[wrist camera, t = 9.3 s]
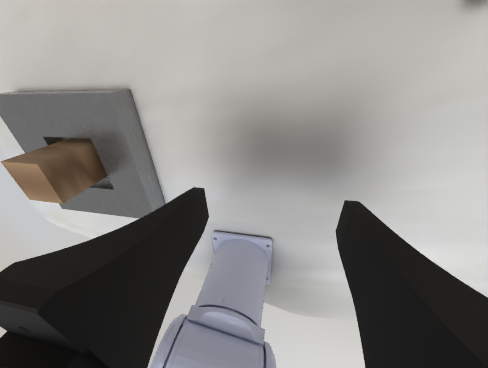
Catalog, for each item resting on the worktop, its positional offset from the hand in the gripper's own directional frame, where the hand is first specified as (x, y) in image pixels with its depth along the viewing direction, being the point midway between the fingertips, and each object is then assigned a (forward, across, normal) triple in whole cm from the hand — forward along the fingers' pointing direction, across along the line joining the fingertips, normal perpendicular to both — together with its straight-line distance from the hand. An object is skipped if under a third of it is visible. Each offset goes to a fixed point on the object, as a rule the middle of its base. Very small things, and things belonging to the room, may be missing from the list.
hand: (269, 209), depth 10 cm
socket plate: (+9, +21, +2) cm, 23 cm away
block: (+9, +21, +2) cm, 23 cm away
